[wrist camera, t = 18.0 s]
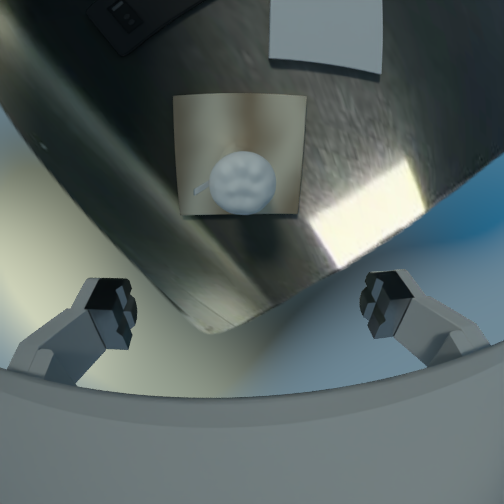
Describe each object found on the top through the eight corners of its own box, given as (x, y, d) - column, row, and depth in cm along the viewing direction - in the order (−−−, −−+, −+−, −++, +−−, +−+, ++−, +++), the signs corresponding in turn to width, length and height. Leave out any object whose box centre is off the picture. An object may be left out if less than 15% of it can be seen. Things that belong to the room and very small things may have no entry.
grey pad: (268, 58, 22) (269, 57, 21) (270, -37, 16) (271, -40, 15) (377, 74, 22) (381, 74, 22) (377, -16, 17) (381, -17, 16)
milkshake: (207, 132, 24) (194, 156, 16) (266, 135, 25) (285, 161, 17) (205, 178, 27) (193, 225, 18) (261, 180, 27) (276, 228, 19)
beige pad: (181, 212, 29) (180, 215, 29) (174, 95, 23) (173, 96, 22) (296, 210, 30) (297, 213, 29) (304, 96, 24) (306, 96, 23)
